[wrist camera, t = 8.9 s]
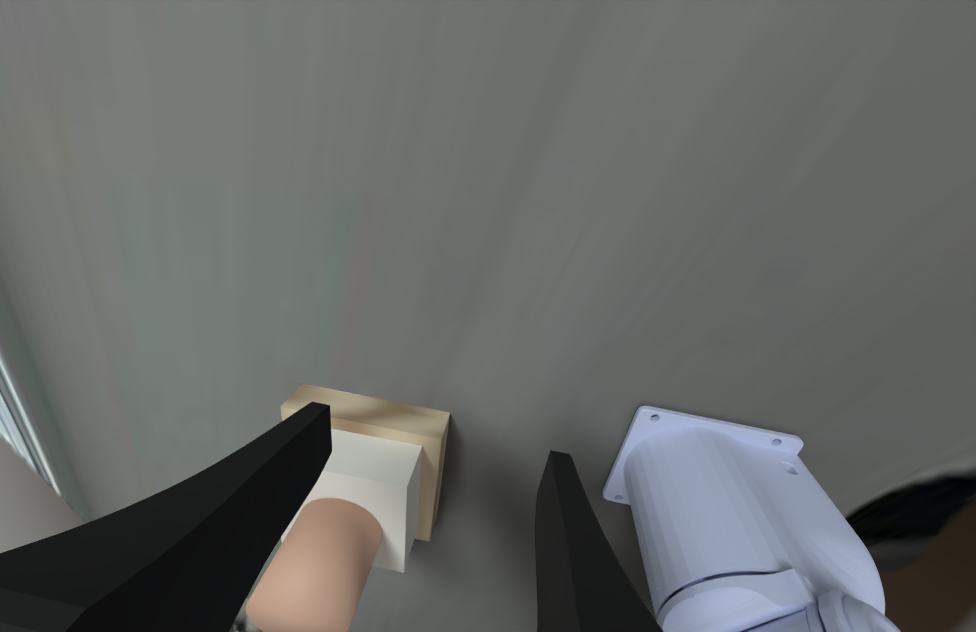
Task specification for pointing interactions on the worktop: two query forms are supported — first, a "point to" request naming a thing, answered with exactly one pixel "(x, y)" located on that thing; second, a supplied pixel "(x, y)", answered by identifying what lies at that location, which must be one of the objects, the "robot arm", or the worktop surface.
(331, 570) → the cylinder
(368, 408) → the tower base
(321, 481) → the tower top
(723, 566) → the robot arm
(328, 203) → the worktop surface
